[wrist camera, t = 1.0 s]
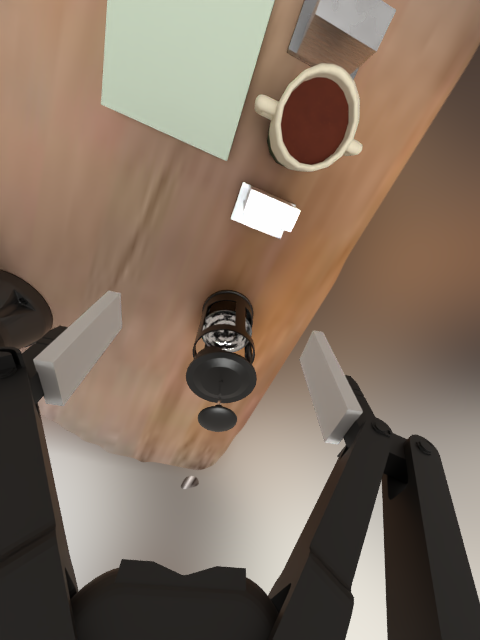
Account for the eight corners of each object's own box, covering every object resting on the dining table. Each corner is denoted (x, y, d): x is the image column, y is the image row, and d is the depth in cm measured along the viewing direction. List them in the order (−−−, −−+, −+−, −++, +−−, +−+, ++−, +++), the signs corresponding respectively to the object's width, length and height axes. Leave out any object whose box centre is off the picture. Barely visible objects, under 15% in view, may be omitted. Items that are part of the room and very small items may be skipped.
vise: (230, 217, 36) (227, 230, 29) (315, -32, 24) (349, -125, 16) (279, 237, 38) (288, 254, 30) (382, 12, 26) (441, -55, 18)
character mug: (342, 123, 31) (400, 98, 19) (314, 184, 34) (349, 192, 23) (262, 83, 29) (275, 29, 18) (241, 152, 32) (241, 143, 21)
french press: (220, 277, 41) (201, 373, 22) (265, 303, 44) (284, 411, 25) (189, 325, 47) (152, 438, 27) (231, 346, 49) (224, 463, 30)
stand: (117, 111, 30) (101, 104, 27) (133, -78, 23) (114, -121, 19) (228, 162, 33) (226, 161, 29) (274, 6, 25) (279, -18, 22)
